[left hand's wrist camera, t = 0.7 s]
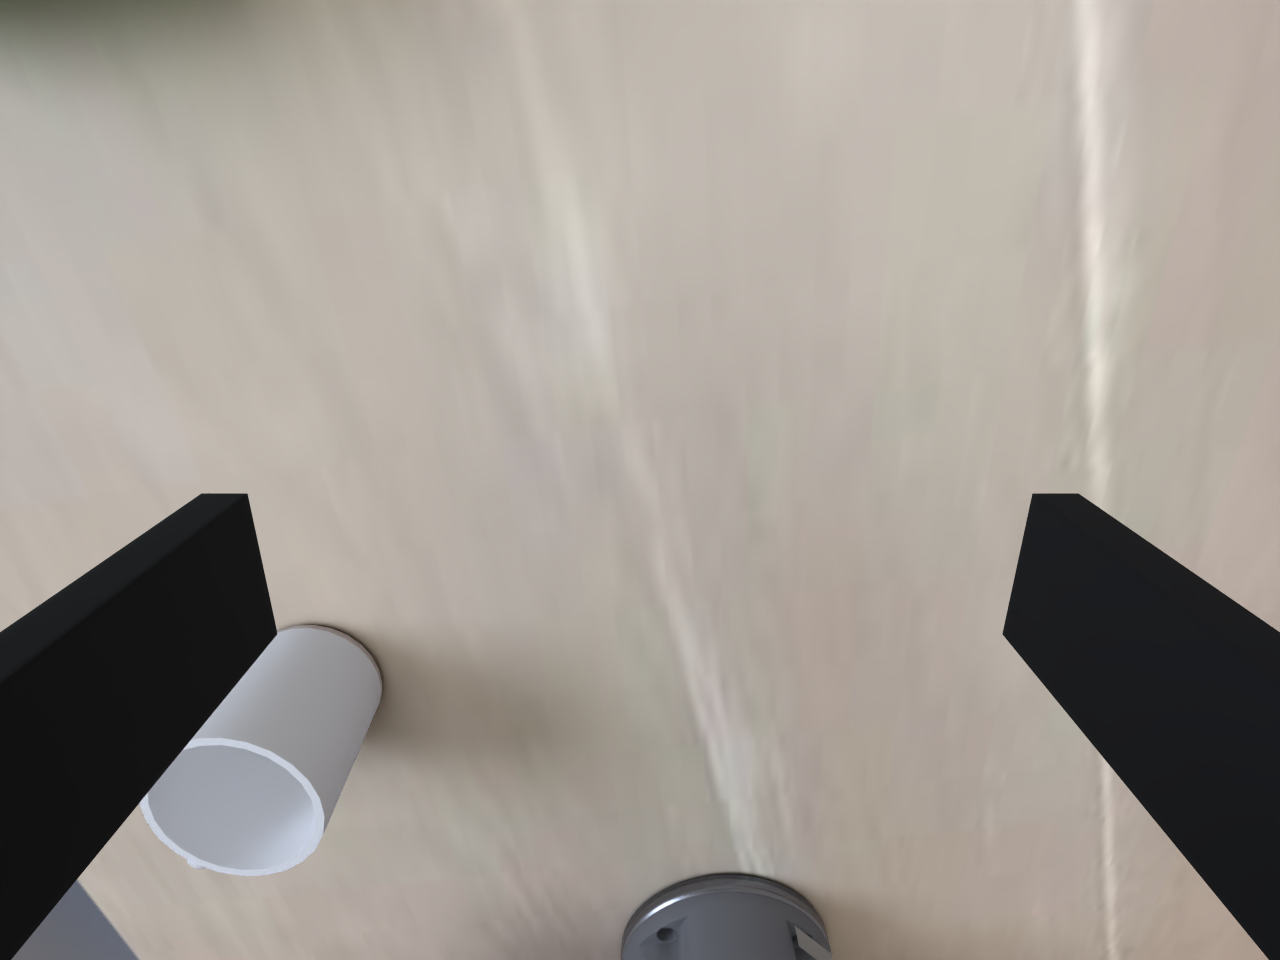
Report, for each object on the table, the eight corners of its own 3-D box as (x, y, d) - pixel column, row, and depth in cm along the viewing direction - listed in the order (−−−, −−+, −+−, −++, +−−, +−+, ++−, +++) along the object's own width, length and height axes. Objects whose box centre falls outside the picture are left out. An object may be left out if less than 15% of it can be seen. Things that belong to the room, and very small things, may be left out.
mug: (283, 590, 43) (180, 706, 33) (417, 663, 45) (356, 793, 35) (208, 713, 46) (96, 851, 37) (336, 776, 48) (260, 923, 39)
